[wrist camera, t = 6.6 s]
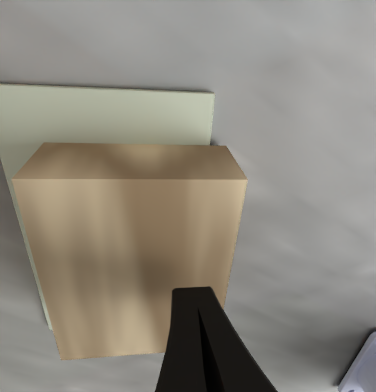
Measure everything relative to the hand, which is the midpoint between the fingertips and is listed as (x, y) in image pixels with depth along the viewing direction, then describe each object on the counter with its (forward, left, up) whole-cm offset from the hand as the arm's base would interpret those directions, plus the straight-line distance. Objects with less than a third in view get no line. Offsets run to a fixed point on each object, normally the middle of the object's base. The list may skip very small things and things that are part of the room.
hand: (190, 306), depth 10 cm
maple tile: (-2, 0, -3) cm, 3 cm away
